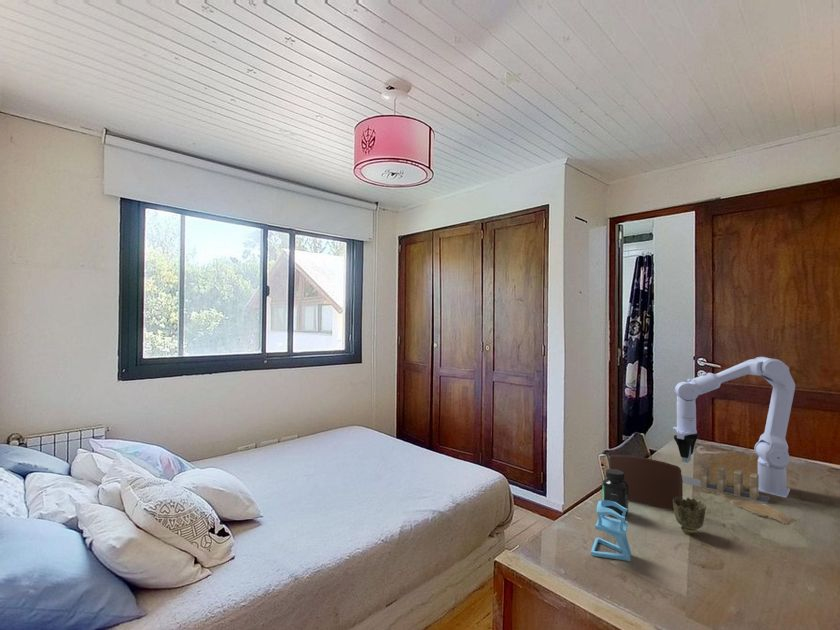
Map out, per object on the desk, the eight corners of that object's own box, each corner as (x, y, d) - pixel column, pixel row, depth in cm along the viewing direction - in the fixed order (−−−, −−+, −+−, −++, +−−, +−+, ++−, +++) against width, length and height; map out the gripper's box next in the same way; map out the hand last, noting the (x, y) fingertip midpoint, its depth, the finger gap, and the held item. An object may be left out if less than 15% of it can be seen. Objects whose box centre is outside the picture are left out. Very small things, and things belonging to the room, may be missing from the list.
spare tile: (681, 461, 142) (681, 441, 142) (685, 458, 145) (685, 438, 145) (687, 462, 141) (687, 442, 141) (690, 459, 144) (690, 439, 144)
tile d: (749, 498, 128) (749, 476, 128) (752, 494, 131) (752, 472, 132) (756, 500, 127) (755, 477, 127) (758, 496, 130) (758, 474, 130)
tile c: (733, 494, 131) (733, 472, 131) (736, 490, 134) (736, 469, 134) (740, 496, 130) (739, 474, 130) (743, 492, 133) (742, 470, 133)
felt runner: (677, 475, 149) (677, 474, 149) (770, 498, 129) (770, 497, 129) (671, 480, 144) (671, 479, 144) (767, 505, 125) (767, 503, 125)
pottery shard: (780, 529, 111) (780, 523, 111) (725, 504, 126) (725, 498, 126) (802, 526, 113) (802, 519, 113) (745, 501, 128) (745, 495, 128)
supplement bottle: (599, 512, 120) (598, 471, 120) (607, 505, 125) (606, 465, 125) (624, 520, 115) (623, 477, 115) (631, 512, 120) (631, 471, 120)
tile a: (700, 486, 138) (700, 465, 138) (704, 482, 141) (704, 462, 141) (706, 487, 137) (706, 466, 137) (709, 483, 140) (709, 463, 140)
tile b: (716, 490, 135) (716, 469, 135) (720, 486, 138) (720, 465, 138) (722, 491, 133) (722, 470, 133) (726, 487, 137) (725, 466, 137)
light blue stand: (629, 566, 94) (629, 514, 94) (590, 555, 98) (591, 505, 98) (632, 550, 100) (632, 501, 100) (595, 540, 105) (596, 493, 105)
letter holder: (681, 513, 120) (681, 465, 120) (608, 496, 131) (608, 452, 132) (682, 500, 128) (682, 455, 128) (614, 486, 140) (613, 444, 140)
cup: (701, 527, 111) (700, 498, 111) (710, 541, 104) (710, 510, 104) (669, 523, 114) (669, 494, 114) (676, 536, 107) (676, 506, 107)
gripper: (679, 411, 151) (679, 448, 151) (666, 418, 141) (667, 457, 141) (702, 414, 146) (702, 453, 146) (690, 421, 136) (690, 462, 136)
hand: (686, 455), depth 143 cm, fingers closed on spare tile, 5 cm apart
